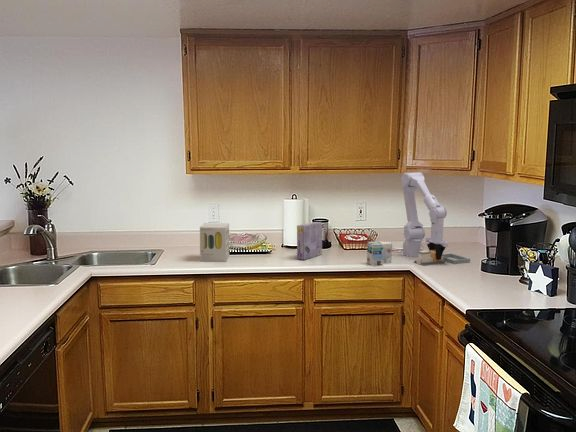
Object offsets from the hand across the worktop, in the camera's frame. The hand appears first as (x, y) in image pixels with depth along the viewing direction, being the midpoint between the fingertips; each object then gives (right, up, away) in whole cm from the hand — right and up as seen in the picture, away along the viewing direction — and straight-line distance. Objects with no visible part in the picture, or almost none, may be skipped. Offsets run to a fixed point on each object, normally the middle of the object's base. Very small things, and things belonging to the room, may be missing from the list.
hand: (435, 258), depth 274 cm
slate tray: (+10, -2, +5) cm, 11 cm away
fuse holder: (-3, -3, -1) cm, 4 cm away
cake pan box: (-61, 0, +16) cm, 63 cm away
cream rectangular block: (-7, -2, -3) cm, 7 cm away
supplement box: (-110, -1, +9) cm, 110 cm away
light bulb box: (-28, -3, 0) cm, 28 cm away
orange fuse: (0, -2, 0) cm, 2 cm away
